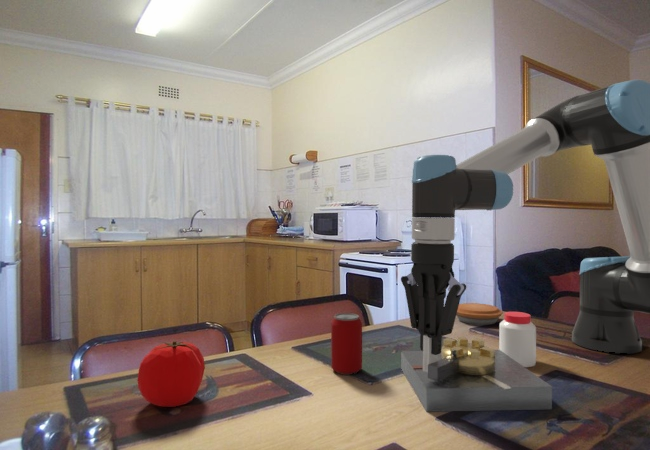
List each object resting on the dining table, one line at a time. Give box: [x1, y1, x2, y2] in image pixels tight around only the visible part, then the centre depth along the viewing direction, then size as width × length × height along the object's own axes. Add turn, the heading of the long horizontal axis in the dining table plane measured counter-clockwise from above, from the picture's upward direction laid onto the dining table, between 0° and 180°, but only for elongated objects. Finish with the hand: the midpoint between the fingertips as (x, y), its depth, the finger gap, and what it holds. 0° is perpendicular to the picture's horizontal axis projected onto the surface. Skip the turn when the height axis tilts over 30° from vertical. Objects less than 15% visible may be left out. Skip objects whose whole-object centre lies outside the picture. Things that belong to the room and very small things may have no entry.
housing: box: [400, 349, 553, 413], centre depth 81 cm, size 22×21×4 cm
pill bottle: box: [498, 311, 537, 368], centre depth 96 cm, size 8×8×11 cm
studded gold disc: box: [428, 336, 495, 381], centre depth 79 cm, size 17×10×4 cm, turn 132°
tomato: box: [136, 340, 206, 408], centre depth 76 cm, size 12×12×11 cm
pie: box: [456, 302, 504, 326], centre depth 135 cm, size 16×16×5 cm
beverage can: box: [330, 312, 363, 375], centre depth 91 cm, size 7×7×12 cm
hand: (430, 370), depth 76 cm, fingers closed
